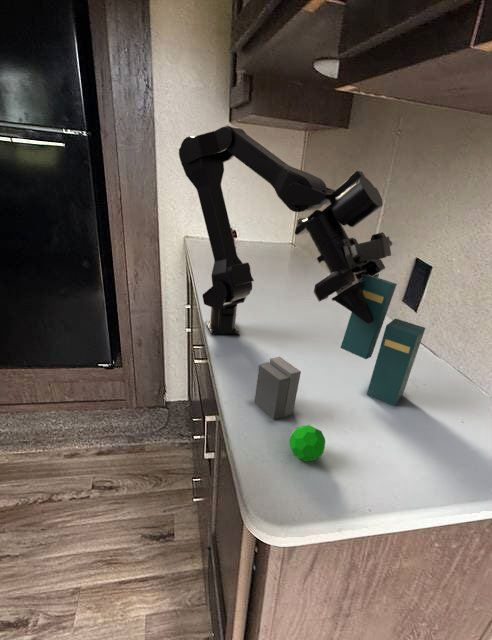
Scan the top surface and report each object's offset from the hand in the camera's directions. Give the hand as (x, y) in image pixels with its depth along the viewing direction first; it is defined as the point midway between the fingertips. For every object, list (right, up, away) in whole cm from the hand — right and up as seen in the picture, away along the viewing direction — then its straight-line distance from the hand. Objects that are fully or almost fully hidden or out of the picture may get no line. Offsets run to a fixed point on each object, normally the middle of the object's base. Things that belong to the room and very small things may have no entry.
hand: (374, 320), depth 71 cm
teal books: (+3, -14, +4) cm, 15 cm away
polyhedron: (-14, -22, -14) cm, 29 cm away
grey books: (-18, -15, -5) cm, 24 cm away
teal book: (-3, -6, +4) cm, 7 cm away
